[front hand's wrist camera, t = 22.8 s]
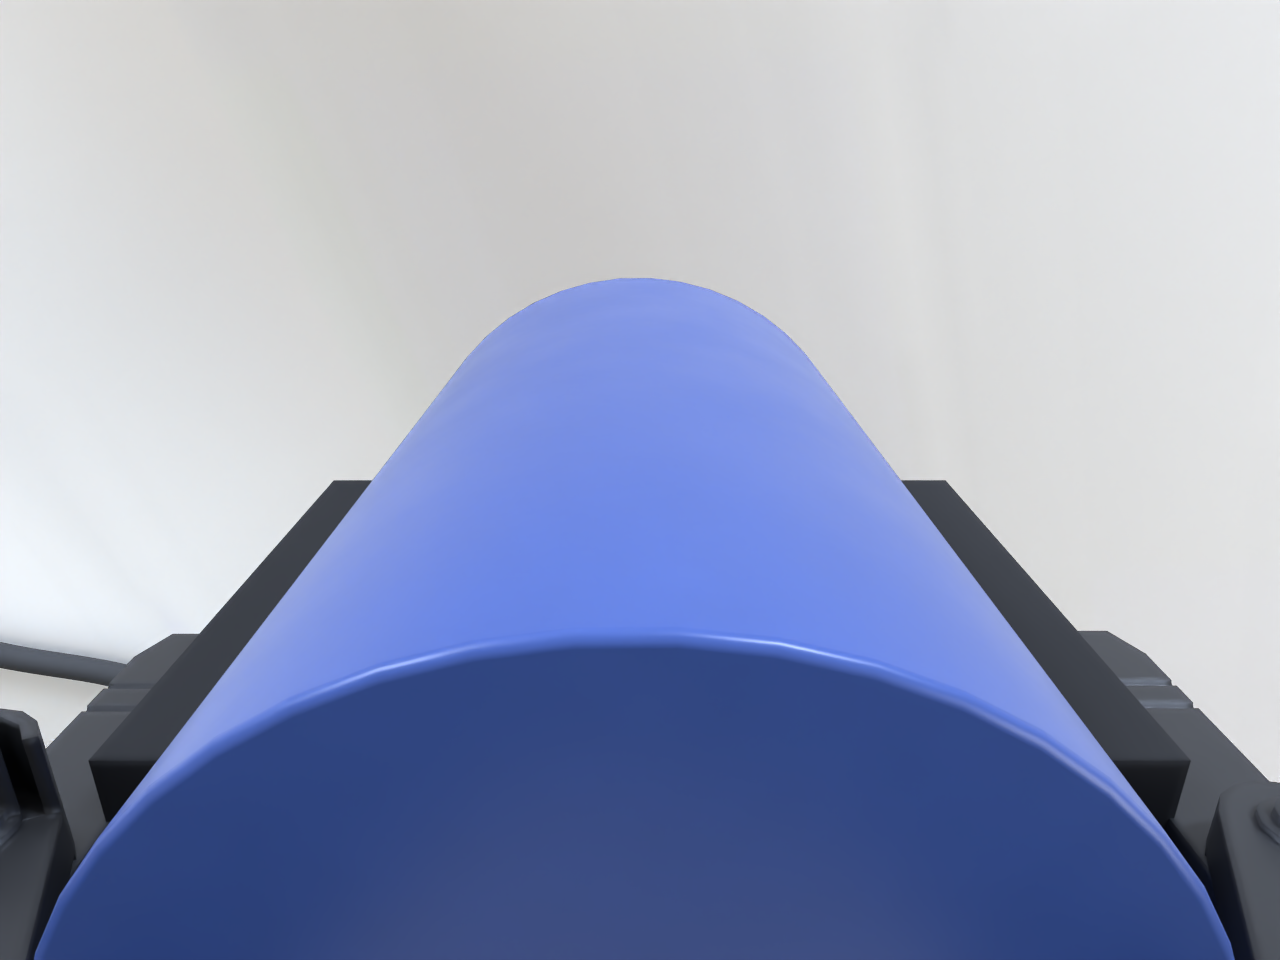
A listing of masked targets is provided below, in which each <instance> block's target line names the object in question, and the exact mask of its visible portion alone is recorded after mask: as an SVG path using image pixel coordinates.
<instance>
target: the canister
mask: <svg viewBox="0 0 1280 960" xmlns="http://www.w3.org/2000/svg"><path fill="white" fill-rule="evenodd" d="M34 960H1235V959H1234V955H1233V951H1232V947H1231V943H1230V941H1229V938H1228V936H1227V934H1226V932H1225V930H1224V928H1223V925H1222V923H1221V921H1220V919H1219V917H1218V915H1217V913H1216V910H1215V908H1214V906H1213V904H1212V902H1211V900H1210V897H1209V895H1208V893H1207V891H1206V889H1205V887H1204V885H1203V884H1202V882H1201V881H1200V879H1199V878H1198V877H1197V875H1196V874H1195V872H1194V871H1193V870H1192V868H1191V867H1190V866H1189V864H1188V863H1187V861H1186V860H1185V859H1184V857H1183V856H1182V854H1181V853H1180V852H1179V850H1178V849H1177V847H1176V846H1175V845H1174V843H1173V842H1172V840H1171V839H1170V838H1169V836H1168V835H1167V833H1166V832H1165V831H1164V829H1163V828H1162V827H1161V825H1160V824H1159V823H1158V821H1157V820H1156V819H1155V817H1154V816H1153V815H1152V813H1151V812H1150V811H1149V809H1148V808H1147V807H1146V805H1145V804H1144V803H1143V801H1142V800H1141V799H1140V797H1139V796H1138V795H1137V793H1136V792H1135V791H1134V790H1133V788H1132V787H1131V786H1130V784H1129V783H1128V782H1127V780H1126V779H1125V778H1124V776H1123V775H1122V774H1121V772H1120V771H1119V770H1118V768H1117V767H1116V766H1115V764H1114V763H1113V762H1112V760H1111V759H1110V758H1109V756H1108V755H1107V754H1106V752H1105V751H1104V750H1103V748H1102V747H1101V746H1100V744H1099V743H1098V742H1097V740H1096V739H1095V738H1094V736H1093V735H1092V734H1091V732H1090V731H1089V730H1088V728H1087V727H1086V726H1085V724H1084V723H1083V722H1082V720H1081V719H1080V718H1079V716H1078V715H1077V714H1076V712H1075V711H1074V710H1073V709H1072V707H1071V706H1070V705H1069V703H1068V702H1067V701H1066V699H1065V698H1064V697H1063V695H1062V694H1061V693H1060V691H1059V690H1058V689H1057V687H1056V686H1055V685H1054V683H1053V682H1052V681H1051V679H1050V678H1049V677H1048V675H1047V674H1046V673H1045V671H1044V670H1043V669H1042V667H1041V666H1040V665H1039V663H1038V662H1037V661H1036V659H1035V658H1034V657H1033V655H1032V654H1031V653H1030V651H1029V650H1028V649H1027V647H1026V646H1025V645H1024V643H1023V642H1022V641H1021V639H1020V638H1019V637H1018V635H1017V634H1016V633H1015V631H1014V630H1013V629H1012V627H1011V626H1010V625H1009V624H1008V622H1007V621H1006V620H1005V618H1004V617H1003V616H1002V614H1001V613H1000V612H999V610H998V609H997V608H996V606H995V605H994V604H993V602H992V601H991V600H990V598H989V597H988V596H987V594H986V593H985V592H984V590H983V589H982V588H981V586H980V585H979V584H978V582H977V581H976V580H975V578H974V577H973V576H972V574H971V573H970V572H969V570H968V569H967V568H966V566H965V565H964V564H963V562H962V561H961V560H960V558H959V557H958V556H957V554H956V553H955V552H954V550H953V549H952V548H951V546H950V545H949V544H948V543H947V541H946V540H945V539H944V537H943V536H942V535H941V533H940V532H939V531H938V529H937V528H936V527H935V525H934V524H933V523H932V521H931V520H930V519H929V517H928V516H927V515H926V513H925V512H924V511H923V509H922V508H921V507H920V505H919V504H918V503H917V501H916V500H915V499H914V497H913V496H912V495H911V493H910V492H909V491H908V489H907V488H906V487H905V485H904V484H903V483H902V481H901V480H900V479H899V477H898V476H897V475H896V473H895V472H894V471H893V469H892V468H891V467H890V465H889V464H888V463H887V462H886V460H885V459H884V458H883V456H882V455H881V454H880V452H879V451H878V450H877V448H876V447H875V446H874V444H873V443H872V442H871V440H870V439H869V438H868V436H867V435H866V434H865V432H864V431H863V430H862V428H861V427H860V426H859V424H858V423H857V422H856V420H855V419H854V418H853V416H852V415H851V414H850V412H849V411H848V410H847V408H846V407H845V406H844V404H843V403H842V402H841V400H840V399H839V398H838V396H837V395H836V394H835V392H834V391H833V390H832V388H831V387H830V386H829V384H828V383H827V382H826V381H825V379H824V378H823V377H822V375H821V374H820V373H819V371H818V370H817V369H816V367H815V366H814V365H813V363H812V362H811V361H810V359H809V358H808V357H807V355H806V354H805V353H804V352H803V351H802V350H801V349H800V348H799V347H798V346H797V345H796V344H795V343H794V342H793V341H792V339H791V338H790V337H789V336H788V335H787V334H786V333H784V332H783V331H782V330H781V329H779V328H778V327H777V326H775V325H774V324H773V323H772V322H770V321H769V320H768V319H767V318H765V317H764V316H763V315H761V314H759V313H757V312H756V311H754V310H752V309H750V308H749V307H747V306H745V305H744V304H742V303H740V302H738V301H736V300H734V299H732V298H729V297H727V296H724V295H722V294H719V293H717V292H715V291H712V290H710V289H706V288H702V287H698V286H694V285H690V284H687V283H683V282H677V281H669V280H661V279H653V278H621V279H613V280H606V281H599V282H592V283H588V284H584V285H581V286H577V287H574V288H570V289H567V290H563V291H560V292H558V293H555V294H553V295H551V296H549V297H546V298H544V299H542V300H539V301H537V302H535V303H533V304H531V305H530V306H528V307H526V308H525V309H523V310H521V311H520V312H518V313H516V314H515V315H513V316H512V317H510V318H508V319H507V320H506V321H505V322H503V323H502V324H501V325H500V326H499V327H497V328H496V329H495V330H494V331H492V332H491V333H490V334H489V335H488V336H486V337H485V338H484V340H483V341H482V342H481V343H480V344H479V345H478V346H477V347H476V348H475V349H474V350H473V351H472V353H471V354H470V355H469V356H468V357H467V358H466V359H465V361H464V362H463V363H462V365H461V366H460V367H459V368H458V370H457V371H456V372H455V374H454V375H453V376H452V378H451V379H450V380H449V381H448V383H447V384H446V385H445V387H444V388H443V389H442V391H441V392H440V393H439V395H438V396H437V397H436V398H435V400H434V401H433V402H432V404H431V405H430V406H429V408H428V409H427V410H426V411H425V413H424V414H423V415H422V417H421V418H420V419H419V421H418V422H417V423H416V424H415V426H414V427H413V428H412V430H411V431H410V432H409V434H408V435H407V436H406V437H405V439H404V440H403V441H402V443H401V444H400V445H399V447H398V448H397V449H396V451H395V452H394V453H393V454H392V456H391V457H390V458H389V460H388V461H387V462H386V464H385V465H384V466H383V467H382V469H381V470H380V471H379V473H378V474H377V475H376V477H375V478H374V479H373V480H372V482H371V483H370V484H369V486H368V487H367V488H366V490H365V491H364V492H363V493H362V495H361V496H360V497H359V499H358V500H357V501H356V503H355V504H354V505H353V507H352V508H351V509H350V510H349V512H348V513H347V514H346V516H345V517H344V518H343V520H342V521H341V522H340V523H339V525H338V526H337V527H336V529H335V530H334V531H333V533H332V534H331V535H330V536H329V538H328V539H327V540H326V542H325V543H324V544H323V546H322V547H321V548H320V549H319V551H318V552H317V553H316V555H315V556H314V557H313V559H312V560H311V561H310V563H309V564H308V565H307V566H306V568H305V569H304V570H303V572H302V573H301V574H300V576H299V577H298V578H297V579H296V581H295V582H294V583H293V585H292V586H291V587H290V589H289V590H288V591H287V592H286V594H285V595H284V596H283V598H282V599H281V600H280V602H279V603H278V604H277V605H276V607H275V608H274V609H273V611H272V612H271V613H270V615H269V616H268V617H267V619H266V620H265V621H264V622H263V624H262V625H261V626H260V628H259V629H258V630H257V632H256V633H255V634H254V635H253V637H252V638H251V639H250V641H249V642H248V643H247V645H246V646H245V647H244V648H243V650H242V651H241V652H240V654H239V655H238V656H237V658H236V659H235V660H234V661H233V663H232V664H231V665H230V667H229V668H228V669H227V671H226V672H225V673H224V675H223V676H222V677H221V678H220V680H219V681H218V682H217V684H216V685H215V686H214V688H213V689H212V690H211V691H210V693H209V694H208V695H207V697H206V698H205V699H204V701H203V702H202V703H201V704H200V706H199V707H198V708H197V710H196V711H195V712H194V714H193V715H192V716H191V718H190V719H189V720H188V721H187V723H186V724H185V725H184V727H183V728H182V729H181V731H180V732H179V733H178V734H177V736H176V737H175V738H174V740H173V741H172V742H171V744H170V745H169V746H168V747H167V749H166V750H165V751H164V753H163V754H162V755H161V757H160V758H159V759H158V760H157V762H156V763H155V764H154V766H153V767H152V768H151V770H150V771H149V772H148V774H147V775H146V776H145V777H144V779H143V780H142V781H141V783H140V784H139V785H138V787H137V788H136V789H135V790H134V792H133V793H132V794H131V796H130V797H129V798H128V800H127V801H126V802H125V803H124V805H123V806H122V807H121V809H120V810H119V811H118V813H117V814H116V815H115V816H114V818H113V819H112V820H111V822H110V823H109V824H108V826H107V827H106V828H105V830H104V831H103V832H102V833H101V835H100V836H99V837H98V839H97V840H96V842H95V843H94V845H93V846H92V847H91V849H90V850H89V852H88V853H87V855H86V856H85V858H84V859H83V861H82V862H81V864H80V865H79V867H78V868H77V870H76V871H75V873H74V874H73V876H72V877H71V879H70V880H69V882H68V883H67V885H66V886H65V888H64V889H63V891H62V892H61V894H60V895H59V897H58V900H57V902H56V905H55V907H54V909H53V912H52V914H51V916H50V919H49V921H48V923H47V926H46V928H45V931H44V933H43V935H42V938H41V940H40V942H39V945H38V947H37V949H36V952H35V956H34Z"/></svg>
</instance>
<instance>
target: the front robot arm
mask: <svg viewBox="0 0 1280 960" xmlns="http://www.w3.org/2000/svg"><path fill="white" fill-rule="evenodd" d="M901 481H902V483H903V484H904V485H905V487H906V488H907V489H908V491H909V492H910V493H911V495H912V496H913V497H914V499H915V500H916V501H917V503H918V504H919V505H920V507H921V508H922V509H923V511H924V512H925V513H926V515H927V516H928V517H929V519H930V520H931V521H932V523H933V524H934V525H935V527H936V528H937V529H938V531H939V532H940V533H941V535H942V536H943V537H944V539H945V540H946V541H947V543H948V544H949V545H950V546H951V548H952V549H953V550H954V552H955V553H956V554H957V556H958V557H959V558H960V560H961V561H962V562H963V564H964V565H965V566H966V568H967V569H968V570H969V572H970V573H971V574H972V576H973V577H974V578H975V580H976V581H977V582H978V584H979V585H980V586H981V588H982V589H983V590H984V592H985V593H986V594H987V596H988V597H989V598H990V600H991V601H992V602H993V604H994V605H995V606H996V608H997V609H998V610H999V612H1000V613H1001V614H1002V616H1003V617H1004V618H1005V620H1006V621H1007V622H1008V624H1009V625H1010V626H1011V627H1012V629H1013V630H1014V631H1015V633H1016V634H1017V635H1018V637H1019V638H1020V639H1021V641H1022V642H1023V643H1024V645H1025V646H1026V647H1027V649H1028V650H1029V651H1030V653H1031V654H1032V655H1033V657H1034V658H1035V659H1036V661H1037V662H1038V663H1039V665H1040V666H1041V667H1042V669H1043V670H1044V671H1045V673H1046V674H1047V675H1048V677H1049V678H1050V679H1051V681H1052V682H1053V683H1054V685H1055V686H1056V687H1057V689H1058V690H1059V691H1060V693H1061V694H1062V695H1063V697H1064V698H1065V699H1066V701H1067V702H1068V703H1069V705H1070V706H1071V707H1072V709H1073V710H1074V711H1075V712H1076V714H1077V715H1078V716H1079V718H1080V719H1081V720H1082V722H1083V723H1084V724H1085V726H1086V727H1087V728H1088V730H1089V731H1090V732H1091V734H1092V735H1093V736H1094V738H1095V739H1096V740H1097V742H1098V743H1099V744H1100V746H1101V747H1102V748H1103V750H1104V751H1105V752H1106V754H1107V755H1108V756H1109V758H1110V759H1111V760H1112V762H1113V763H1114V764H1115V766H1116V767H1117V768H1118V770H1119V771H1120V772H1121V774H1122V775H1123V776H1124V778H1125V779H1126V780H1127V782H1128V783H1129V784H1130V786H1131V787H1132V788H1133V790H1134V791H1135V792H1136V793H1137V795H1138V796H1139V797H1140V799H1141V800H1142V801H1143V803H1144V804H1145V805H1146V807H1147V808H1148V809H1149V811H1150V812H1151V813H1152V815H1153V816H1154V817H1155V819H1156V820H1157V821H1158V823H1159V824H1160V825H1161V827H1162V828H1163V829H1164V831H1165V832H1166V833H1167V835H1168V836H1169V838H1170V839H1171V840H1172V842H1173V843H1174V845H1175V846H1176V847H1177V849H1178V850H1179V852H1180V853H1181V854H1182V856H1183V857H1184V859H1185V860H1186V861H1187V863H1188V864H1189V866H1190V867H1191V868H1192V870H1193V871H1194V872H1195V874H1196V875H1197V877H1198V878H1199V879H1200V881H1201V882H1202V884H1203V885H1204V887H1205V889H1206V891H1207V893H1208V895H1209V897H1210V900H1211V902H1212V904H1213V906H1214V908H1215V910H1216V913H1217V915H1218V917H1219V919H1220V921H1221V923H1222V925H1223V928H1224V930H1225V932H1226V934H1227V936H1228V938H1229V941H1230V943H1231V947H1232V951H1233V955H1234V959H1235V960H1280V783H1277V782H1269V781H1268V780H1267V779H1266V778H1265V777H1264V776H1263V774H1262V773H1261V772H1260V771H1259V770H1258V769H1257V768H1256V767H1255V766H1254V765H1253V764H1252V763H1251V762H1250V761H1249V760H1248V759H1247V758H1246V757H1245V756H1244V755H1243V754H1242V753H1241V752H1240V751H1239V750H1238V749H1237V748H1236V747H1235V746H1234V745H1233V744H1232V742H1231V741H1230V740H1229V739H1228V738H1227V737H1226V736H1225V735H1224V734H1223V733H1222V732H1221V731H1220V730H1219V729H1218V728H1217V727H1216V726H1215V725H1214V724H1213V723H1212V722H1211V721H1210V720H1209V719H1208V718H1207V717H1206V716H1205V715H1204V714H1203V713H1202V712H1201V710H1200V709H1199V708H1193V702H1192V701H1191V700H1190V699H1189V698H1188V697H1187V696H1186V695H1185V694H1184V693H1183V692H1182V691H1181V690H1180V689H1179V688H1178V687H1177V686H1172V684H1171V680H1170V678H1169V677H1168V676H1167V675H1166V674H1165V673H1164V672H1163V671H1162V670H1161V669H1160V668H1159V667H1158V666H1157V665H1156V664H1155V663H1154V662H1153V661H1152V660H1151V659H1150V658H1149V657H1148V656H1147V655H1146V654H1145V653H1143V652H1142V651H1140V650H1138V649H1137V648H1135V647H1133V646H1132V645H1130V644H1128V643H1126V642H1125V641H1123V640H1121V639H1120V638H1118V637H1116V636H1115V635H1113V634H1111V633H1110V632H1108V631H1077V630H1076V629H1075V628H1074V627H1073V625H1072V624H1071V623H1070V622H1069V621H1068V620H1067V619H1066V617H1065V616H1064V615H1063V614H1062V613H1061V612H1060V611H1059V609H1058V608H1057V607H1056V606H1055V605H1054V604H1053V603H1052V602H1051V600H1050V599H1049V598H1048V597H1047V596H1046V595H1045V594H1044V592H1043V591H1042V590H1041V589H1040V588H1039V587H1038V586H1037V584H1036V583H1035V582H1034V581H1033V580H1032V579H1031V578H1030V576H1029V575H1028V574H1027V573H1026V572H1025V571H1024V570H1023V568H1022V567H1021V566H1020V565H1019V564H1018V563H1017V562H1016V560H1015V559H1014V558H1013V557H1012V556H1011V555H1010V554H1009V552H1008V551H1007V550H1006V549H1005V548H1004V547H1003V546H1002V544H1001V543H1000V542H999V541H998V540H997V539H996V538H995V536H994V535H993V534H992V533H991V532H990V531H989V530H988V528H987V527H986V526H985V525H984V524H983V523H982V522H981V521H980V519H979V518H978V517H977V516H976V515H975V514H974V513H973V511H972V510H971V509H970V508H969V507H968V506H967V505H966V503H965V502H964V501H963V500H962V499H961V498H960V497H959V495H958V494H957V493H956V492H955V491H954V490H953V489H952V487H951V486H950V485H949V484H948V483H947V482H946V481H945V480H901ZM371 482H372V480H349V481H333V482H332V483H331V484H330V486H329V487H328V488H327V489H326V490H325V491H324V492H323V494H322V495H321V496H320V497H319V498H318V499H317V500H316V501H315V503H314V504H313V505H312V506H311V507H310V508H309V509H308V511H307V512H306V513H305V514H304V515H303V516H302V517H301V519H300V520H299V521H298V522H297V523H296V524H295V525H294V527H293V528H292V529H291V530H290V531H289V532H288V533H287V535H286V536H285V537H284V538H283V539H282V540H281V541H280V543H279V544H278V545H277V546H276V547H275V548H274V549H273V551H272V552H271V553H270V554H269V555H268V556H267V557H266V559H265V560H264V561H263V562H262V563H261V564H260V565H259V567H258V568H257V569H256V570H255V571H254V572H253V573H252V574H251V576H250V577H249V578H248V579H247V580H246V581H245V582H244V584H243V585H242V586H241V587H240V588H239V589H238V590H237V592H236V593H235V594H234V595H233V596H232V597H231V598H230V600H229V601H228V602H227V603H226V604H225V605H224V606H223V608H222V609H221V610H220V611H219V612H218V613H217V614H216V616H215V617H214V618H213V619H212V620H211V621H210V622H209V624H208V625H207V626H206V627H205V628H204V629H203V630H202V632H201V633H200V634H172V635H170V636H168V637H167V638H165V639H163V640H162V641H160V642H158V643H157V644H155V645H153V646H152V647H150V648H148V649H147V650H145V651H143V652H142V653H140V654H138V655H137V656H135V657H134V658H133V659H132V660H131V661H130V662H129V663H128V664H127V665H125V664H121V663H117V662H112V661H107V660H101V659H96V658H90V657H84V656H78V655H71V654H64V653H58V652H51V651H45V650H39V649H33V648H27V647H22V646H16V645H12V644H7V643H2V642H0V668H4V669H9V670H15V671H20V672H27V673H33V674H39V675H46V676H52V677H59V678H66V679H72V680H78V681H84V682H90V683H96V684H100V685H105V686H109V687H108V689H103V690H102V691H101V692H100V693H99V694H98V695H97V696H96V697H95V698H94V699H93V700H92V701H91V702H90V703H89V705H88V706H87V711H86V712H81V713H80V714H79V715H78V716H77V717H76V718H75V719H74V720H73V721H72V722H71V723H70V724H69V725H68V726H67V727H66V728H65V729H64V731H63V732H62V733H61V734H60V735H59V736H58V737H57V738H56V739H55V740H54V741H53V742H52V743H51V744H50V745H49V746H48V747H47V748H46V749H45V746H44V742H43V739H42V736H41V733H40V729H39V726H38V723H37V721H36V720H35V719H33V718H32V717H30V716H29V715H27V714H26V713H24V712H23V711H16V710H8V709H0V960H34V956H35V952H36V949H37V947H38V945H39V942H40V940H41V938H42V935H43V933H44V931H45V928H46V926H47V923H48V921H49V919H50V916H51V914H52V912H53V909H54V907H55V905H56V902H57V900H58V897H59V895H60V894H61V892H62V891H63V889H64V888H65V886H66V885H67V883H68V882H69V880H70V879H71V877H72V876H73V874H74V873H75V871H76V870H77V868H78V867H79V865H80V864H81V862H82V861H83V859H84V858H85V856H86V855H87V853H88V852H89V850H90V849H91V847H92V846H93V845H94V843H95V842H96V840H97V839H98V837H99V836H100V835H101V833H102V832H103V831H104V830H105V828H106V827H107V826H108V824H109V823H110V822H111V820H112V819H113V818H114V816H115V815H116V814H117V813H118V811H119V810H120V809H121V807H122V806H123V805H124V803H125V802H126V801H127V800H128V798H129V797H130V796H131V794H132V793H133V792H134V790H135V789H136V788H137V787H138V785H139V784H140V783H141V781H142V780H143V779H144V777H145V776H146V775H147V774H148V772H149V771H150V770H151V768H152V767H153V766H154V764H155V763H156V762H157V760H158V759H159V758H160V757H161V755H162V754H163V753H164V751H165V750H166V749H167V747H168V746H169V745H170V744H171V742H172V741H173V740H174V738H175V737H176V736H177V734H178V733H179V732H180V731H181V729H182V728H183V727H184V725H185V724H186V723H187V721H188V720H189V719H190V718H191V716H192V715H193V714H194V712H195V711H196V710H197V708H198V707H199V706H200V704H201V703H202V702H203V701H204V699H205V698H206V697H207V695H208V694H209V693H210V691H211V690H212V689H213V688H214V686H215V685H216V684H217V682H218V681H219V680H220V678H221V677H222V676H223V675H224V673H225V672H226V671H227V669H228V668H229V667H230V665H231V664H232V663H233V661H234V660H235V659H236V658H237V656H238V655H239V654H240V652H241V651H242V650H243V648H244V647H245V646H246V645H247V643H248V642H249V641H250V639H251V638H252V637H253V635H254V634H255V633H256V632H257V630H258V629H259V628H260V626H261V625H262V624H263V622H264V621H265V620H266V619H267V617H268V616H269V615H270V613H271V612H272V611H273V609H274V608H275V607H276V605H277V604H278V603H279V602H280V600H281V599H282V598H283V596H284V595H285V594H286V592H287V591H288V590H289V589H290V587H291V586H292V585H293V583H294V582H295V581H296V579H297V578H298V577H299V576H300V574H301V573H302V572H303V570H304V569H305V568H306V566H307V565H308V564H309V563H310V561H311V560H312V559H313V557H314V556H315V555H316V553H317V552H318V551H319V549H320V548H321V547H322V546H323V544H324V543H325V542H326V540H327V539H328V538H329V536H330V535H331V534H332V533H333V531H334V530H335V529H336V527H337V526H338V525H339V523H340V522H341V521H342V520H343V518H344V517H345V516H346V514H347V513H348V512H349V510H350V509H351V508H352V507H353V505H354V504H355V503H356V501H357V500H358V499H359V497H360V496H361V495H362V493H363V492H364V491H365V490H366V488H367V487H368V486H369V484H370V483H371Z"/></svg>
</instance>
